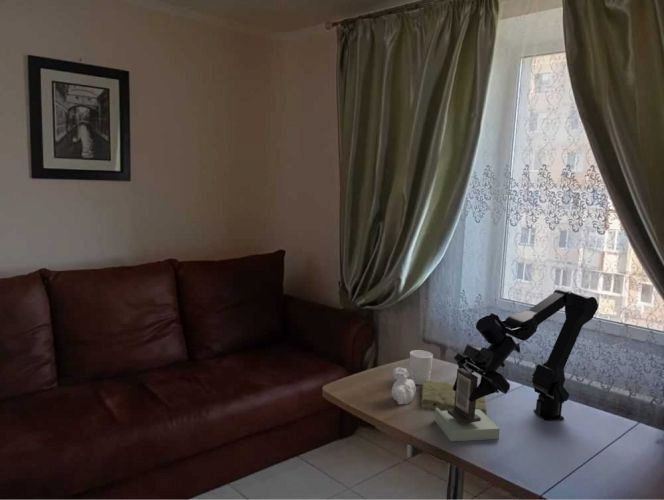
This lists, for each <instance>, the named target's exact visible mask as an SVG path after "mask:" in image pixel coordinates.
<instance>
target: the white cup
mask: <svg viewBox="0 0 664 500" xmlns="http://www.w3.org/2000/svg"><path fill="white" fill-rule="evenodd" d="M433 357H434V354H433V353H432V352H430V351H427V350H422V349H417V350H416V349H414V350H411V351H409V379H411V380H413V381H414V384H415V385H418V386H419V385H420V386H422V384H423V381H431V380H430V378H431V375H432V374H431V372H432V367H433V366H432V365H433Z"/></svg>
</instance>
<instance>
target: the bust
mask: <svg viewBox="0 0 664 500" xmlns="http://www.w3.org/2000/svg"><path fill="white" fill-rule="evenodd" d="M392 375H393V377H394V379H395V380H396V381H395V382H394V383H393V385H392V387H391V396H392V398H393V399H394V401H396V402H397V403H398V405H408V404H409V403H410V402H412V401H413V400H414V397H415V395H416V392H417V387H416V384H414V381H413V380H411V379H410V378H409V377H410V372H409V371H408V370H407V367H405V368H404V367H395V368H394V369H393V370H392Z"/></svg>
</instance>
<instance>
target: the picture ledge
mask: <svg viewBox="0 0 664 500" xmlns="http://www.w3.org/2000/svg"><path fill="white" fill-rule="evenodd" d="M475 414H476V415H478V416H479V417H481V421H478V422H472V423H467V424H462V423H460V422H459V421H458V420H456V419H455V418H453V417H452V416H451V415H449V414H448V411H440V409H439V408H435V410H434V423H436V425H437V426H438V427H439V428H440V430H441V431H442V432H443V433H444V434H445V436H446V437H447V439H448V440H449V441H450V442H464V441H480V440H481V441H483V440H484V441H485V440H498V439H500V427H499V426H498V425H496V424H495V422H494V421H493V420H491V419H490V418H489V417H488V415H487V416H486V415H485V414H484V413H483V412H482V411H481V410H480V409H475Z"/></svg>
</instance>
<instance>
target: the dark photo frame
mask: <svg viewBox="0 0 664 500" xmlns="http://www.w3.org/2000/svg"><path fill="white" fill-rule="evenodd" d="M456 378H457V380H456V379H455V381H456V392H455V405H454V409H449V410H448V414H449V415H451V416H452V417H453V418H455V419H456V420H458V421H459V422H460V423H462V424H467V423H472V422H478V421H481V417H479V416H478V415H476V414H475V405H476V400H474V401H472V402H471V401H470V400H469V397H470V396H471V394H472V393H473V392H474V390H475V389H476V388H477V387H478V379H479V377H478V376H477V375H475V374H473V373H470V372H468V371H466V370H465V369H463V368H459V367H458V368H456Z"/></svg>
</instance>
